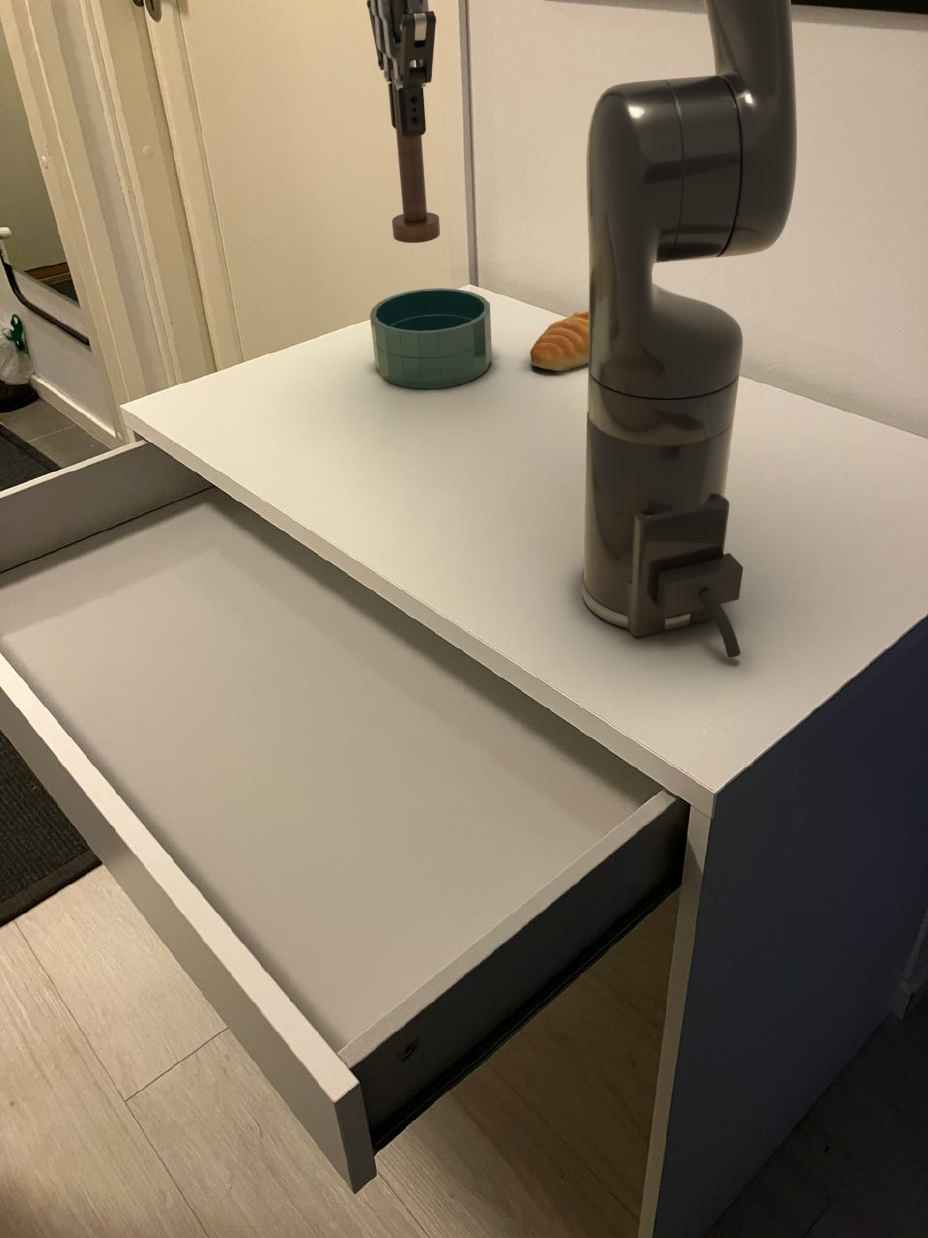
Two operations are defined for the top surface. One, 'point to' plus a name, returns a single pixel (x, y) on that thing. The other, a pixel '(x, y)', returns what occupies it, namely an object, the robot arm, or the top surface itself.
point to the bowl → (432, 337)
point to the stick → (412, 189)
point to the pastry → (563, 344)
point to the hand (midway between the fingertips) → (409, 130)
